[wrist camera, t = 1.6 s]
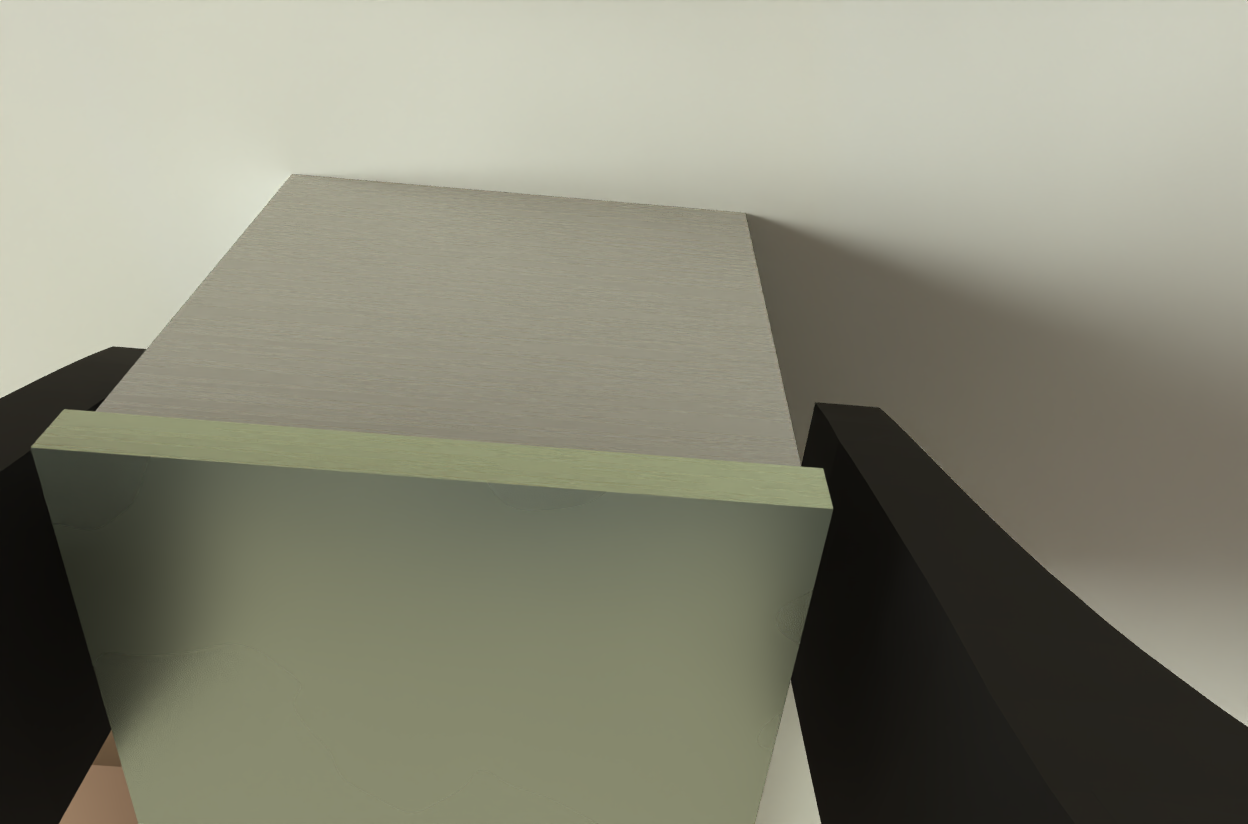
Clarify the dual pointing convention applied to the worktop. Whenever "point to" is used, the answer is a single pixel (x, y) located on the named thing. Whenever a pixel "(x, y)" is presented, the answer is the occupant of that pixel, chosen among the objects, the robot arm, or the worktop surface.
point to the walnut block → (102, 792)
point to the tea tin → (447, 519)
